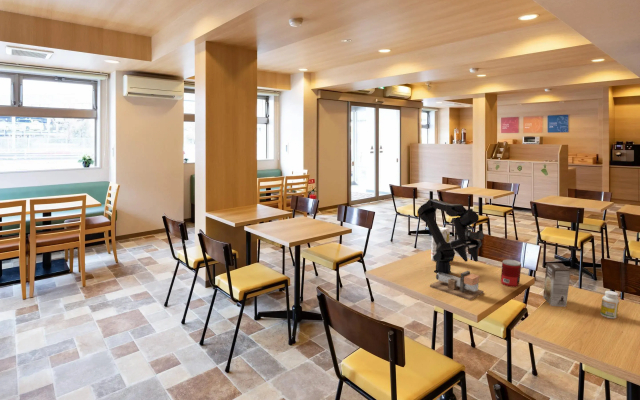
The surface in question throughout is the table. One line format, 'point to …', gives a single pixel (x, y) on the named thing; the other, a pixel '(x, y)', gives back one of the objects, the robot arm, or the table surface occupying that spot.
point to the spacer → (471, 279)
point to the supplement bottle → (609, 304)
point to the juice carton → (446, 236)
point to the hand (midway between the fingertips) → (471, 261)
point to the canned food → (510, 273)
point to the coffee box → (556, 284)
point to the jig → (457, 288)
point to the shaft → (445, 277)
